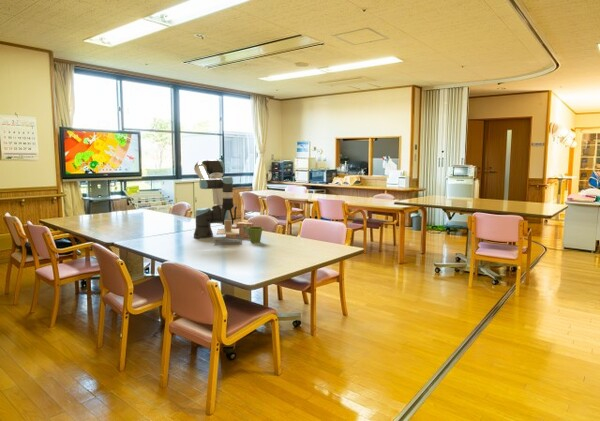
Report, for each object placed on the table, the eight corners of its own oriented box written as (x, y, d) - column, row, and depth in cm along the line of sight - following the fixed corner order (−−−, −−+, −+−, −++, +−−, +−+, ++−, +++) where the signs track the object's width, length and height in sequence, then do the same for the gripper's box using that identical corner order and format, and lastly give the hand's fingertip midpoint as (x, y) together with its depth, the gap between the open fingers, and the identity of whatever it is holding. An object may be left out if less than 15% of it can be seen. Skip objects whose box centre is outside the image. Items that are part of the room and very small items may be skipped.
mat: (215, 240, 314) (215, 239, 314) (242, 240, 317) (242, 239, 317) (214, 246, 294) (213, 245, 294) (242, 245, 297) (242, 244, 297)
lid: (218, 230, 312) (217, 218, 310) (239, 230, 314) (239, 218, 312) (216, 234, 296) (216, 222, 295) (238, 234, 298) (238, 222, 297)
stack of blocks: (225, 238, 325) (225, 222, 324) (228, 236, 332) (228, 221, 330) (251, 239, 322) (251, 223, 320) (253, 237, 328) (253, 222, 326)
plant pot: (248, 244, 301) (248, 229, 300) (247, 241, 313) (246, 226, 311) (264, 243, 303) (264, 228, 302) (262, 240, 315) (262, 226, 314)
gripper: (215, 198, 296) (216, 230, 300) (239, 198, 299) (239, 229, 302) (216, 197, 304) (216, 228, 307) (239, 197, 306) (239, 227, 309)
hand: (228, 228), depth 304 cm, fingers closed on lid, 4 cm apart
